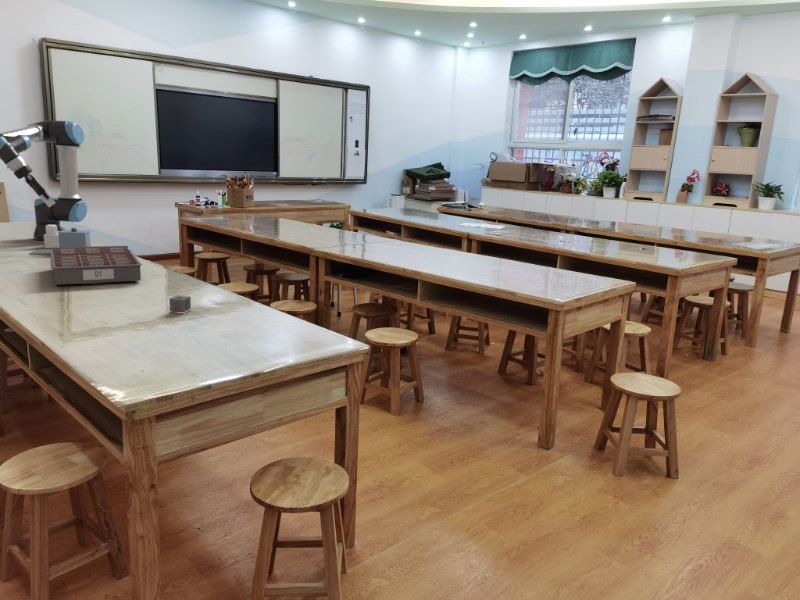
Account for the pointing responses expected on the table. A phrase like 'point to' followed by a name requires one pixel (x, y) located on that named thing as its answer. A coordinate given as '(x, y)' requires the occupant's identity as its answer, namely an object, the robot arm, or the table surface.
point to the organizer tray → (94, 264)
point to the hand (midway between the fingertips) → (52, 205)
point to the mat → (41, 252)
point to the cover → (74, 238)
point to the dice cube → (180, 303)
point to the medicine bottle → (51, 236)
